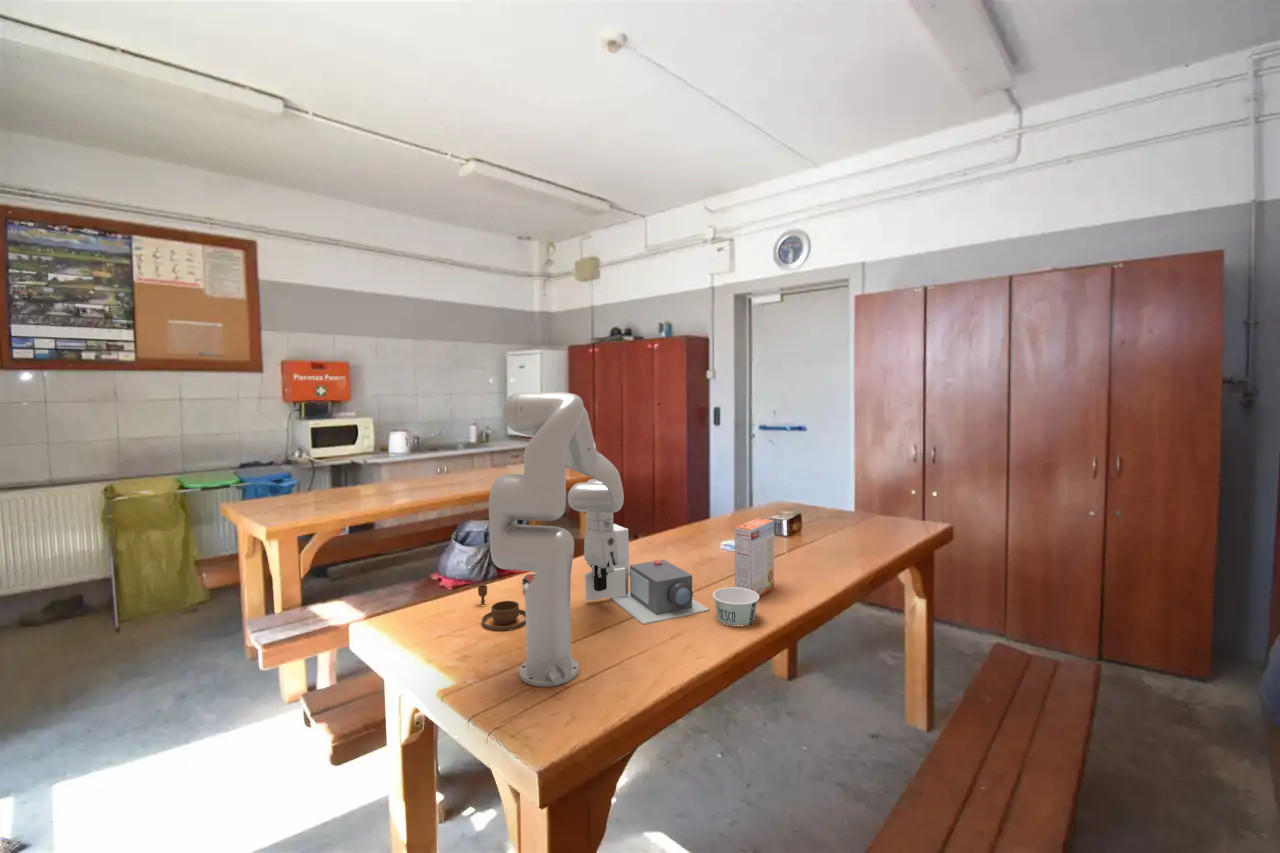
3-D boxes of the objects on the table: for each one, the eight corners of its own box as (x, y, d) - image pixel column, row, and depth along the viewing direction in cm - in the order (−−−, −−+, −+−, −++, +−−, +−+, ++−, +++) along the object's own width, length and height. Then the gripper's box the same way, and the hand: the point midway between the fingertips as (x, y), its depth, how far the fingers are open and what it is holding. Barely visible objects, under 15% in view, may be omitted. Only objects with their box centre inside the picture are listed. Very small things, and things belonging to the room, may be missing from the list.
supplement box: (615, 567, 198) (615, 523, 197) (629, 574, 190) (629, 528, 189) (591, 572, 193) (590, 527, 192) (605, 579, 185) (604, 532, 184)
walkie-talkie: (516, 584, 183) (532, 607, 165) (515, 570, 182) (532, 591, 164) (543, 580, 186) (563, 602, 168) (543, 567, 186) (562, 586, 168)
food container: (765, 616, 156) (765, 591, 156) (749, 632, 146) (749, 606, 145) (723, 607, 162) (723, 584, 162) (705, 623, 152) (705, 598, 152)
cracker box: (756, 584, 180) (757, 516, 179) (775, 588, 176) (775, 519, 175) (733, 597, 169) (733, 525, 168) (752, 602, 166) (752, 529, 164)
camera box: (709, 610, 160) (709, 573, 159) (643, 624, 151) (642, 585, 150) (669, 585, 180) (669, 552, 179) (608, 596, 171) (608, 562, 170)
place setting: (466, 636, 146) (466, 612, 146) (476, 605, 166) (475, 585, 166) (538, 631, 149) (538, 608, 149) (539, 601, 169) (539, 581, 168)
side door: (586, 601, 165) (586, 574, 164) (584, 599, 166) (584, 573, 165) (629, 594, 170) (628, 568, 169) (627, 592, 171) (626, 567, 171)
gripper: (627, 526, 159) (628, 593, 160) (594, 517, 170) (595, 580, 171) (605, 531, 154) (606, 600, 155) (572, 521, 165) (573, 586, 167)
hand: (600, 589), depth 163 cm, fingers closed
